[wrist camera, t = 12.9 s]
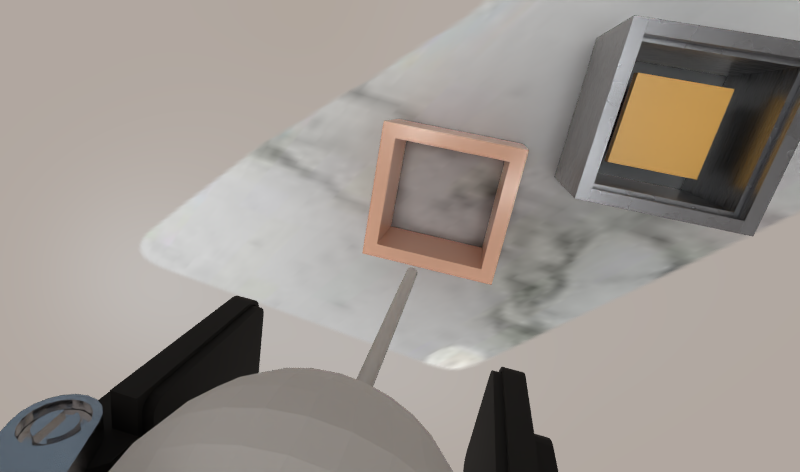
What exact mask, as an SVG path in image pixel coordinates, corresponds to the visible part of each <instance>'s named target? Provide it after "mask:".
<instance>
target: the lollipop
mask: <svg viewBox="0 0 800 472" xmlns="http://www.w3.org/2000/svg"><path fill="white" fill-rule="evenodd" d="M416 276H417V270H416V269H414V268H409V269H408V270H407V271H406V274H405V276H404V278H403V280H402V282H401V284H400V286H399V289H398V291H397V293H396V295H395V297H394V299H393V302H392V304H391V306H390V308H389V310H388V312H387V314H386V317H385V319H384V321H383V323H382V325H381V327H380V330H379V332H378V334H377V336H376V338H375V340H374V343H373V345H372V347H371V349H370V351H369V353H368V355H367V358H366V360H365V362H364V364H363V366H362V369H361V371H360V373H359V375H358V377H357V379H353V378H351V377H348V376H345V375H343V374H340V373H335V372H330V371H324V370H319V369H314V368H283V369H278V370H272V371H267V372H262V373H257V374H252V375H247V376H242V377H239V378H236V379H234V380H232V381H229V382H227V383H224V384H222V385H220V386H217V387H215V388H213V389H211V390H209V391H207V392H205V393H203V394H201V395H199V396H197V397H195V398H193V399H191V400H190V401H188V402H186V403H185V404H184V405H182V406H181V407H180V408H178V409H177V410H176V411H175V412H173V413H172V414H171V415H169V416H168V417H167V418H165V419H164V420H163V421H162V422H160V423H159V424H158V425H156V426H155V427H154V428H152V429H151V430H150V431H148V432H147V433H146V434H144V435H143V436H142V437H141V438H139V439H138V440H137V441H135V442H134V443H133V444H132V445H131V446H130V447H129V448H128V450H127V451H126V452H125V453H124V454H123V455H122V456H121V458H120V459H119V460H118V461H117V462H116V463H115V465H114V466H113V467H112V468H111V469H110V470H109V472H453V471H452V469H451V467H450V466H449V464H448V463H447V461H446V459H445V457H444V456H443V454H442V453H441V451H440V449H439V447H438V446H437V444H436V442H435V441H434V439H433V437H432V436H431V435H430V433H429V432H428V431H427V430H426V429H425V428H424V427H423V426H422V424H421V423H420V422H419V421H418V420H417V419H416V418H415V416H414V415H413V414H411V413H410V412H409V411H408V410H406V409H405V408H404V407H403V406H401V405H400V404H399V403H398V402H396V401H395V400H394V399H393V398H391V397H389V396H388V395H386V394H384V393H383V392H381V391H379V390H377V389H376V388H374V387H373V385H374V383H375V380H376V378H377V375H378V372H379V370H380V367H381V365H382V362H383V360H384V357H385V355H386V352H387V350H388V347H389V345H390V342H391V340H392V337H393V334H394V332H395V329H396V327H397V324H398V322H399V319H400V317H401V314H402V312H403V309H404V306H405V304H406V301H407V299H408V296H409V294H410V291H411V289H412V286H413V283H414V281H415V278H416Z"/></svg>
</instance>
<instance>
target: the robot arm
mask: <svg viewBox="0 0 800 472" xmlns="http://www.w3.org/2000/svg"><path fill="white" fill-rule="evenodd" d="M262 326H263V309H262V308H260V307H259V305H258V302H257V301H255V300H252V299H248V298H244V297H240V296H234V297H232V298H231V299H230V300H228V301H227V302H226V303H225V304H223V305H222V306H221V307H219V308H218V309H217V310H215V311H214V312H213V313H211V314H210V315H209V316H208V317H206V318H205V319H203V320H202V321H201V322H200V323H198V324H197V325H196V326H194V327H193V328H192V329H190V330H189V331H188V332H186V333H185V334H184V335H182V336H181V337H180V338H178V339H177V340H176V341H175V342H173V343H172V344H171V345H169V346H168V347H167V348H165V349H164V350H163V351H161V352H160V353H159V354H158V355H156V356H155V357H153V358H152V359H151V360H149V361H148V362H147V363H146V364H144V365H143V366H142V367H140V368H139V369H138V370H136V371H135V372H134V373H132V374H131V375H130V376H129V377H127V378H126V379H124V380H123V381H122V382H120V383H119V384H118V385H117V386H115V387H114V388H113V389H112V390H110V392H108V393H107V394H106V395H104V396H103V397H102V398H101V399H100V400H97V399H95V398H92V397H90V396H88V395H81V394H70V395H60V396H56V397H52V398H48V399H45V400H43V401H40V402H37V403H35V404H33V405H31V406H30V407H28V408H26V409H24V410H23V411H21V412H20V413H18V414H17V415H16V416H15V417H14V418H13V419H12V420H10V421H9V422H8V423H7V425H6V426H5V427H4V428H3V429H2V430H1V431H0V472H109V470H110V469H111V468H112V467H113V466H114V465H115V463H116V462H117V461H118V460H119V459H120V458H121V456H122V455H123V454H124V453H125V452H126V451H127V450H128V448H129V447H130V446H131V445H132V444H133V443H134V442H135V441H137V440H138V439H139V438H141V437H142V436H143V435H144V434H146V433H147V432H148V431H150V430H151V429H152V428H154V427H155V426H156V425H158V424H159V423H160V422H162V421H163V420H164V419H165V418H167V417H168V416H169V415H171V414H172V413H173V412H175V411H176V410H177V409H178V408H180V407H181V406H182V405H184V404H185V403H186V402H188V401H190V400H191V399H193V398H195V397H197V396H199V395H201V394H203V393H205V392H207V391H209V390H211V389H213V388H215V387H217V386H220V385H222V384H224V383H227V382H229V381H232V380H234V379H236V378H239V377H242V376H247V375H252V374H257V373H258V372H259V361H260V349H261V337H262ZM463 471H464V472H558V468H557V463H556V458H555V453H554V449H553V444H552V441H551V440H550V438H547V437H544V436H540V435H537V434H534V430H533V423H532V418H531V410H530V404H529V397H528V390H527V383H526V377H525V374H524V373H523V372H519V371H516V370H512V369H508V368H505V367H501V369H500V370H499V372H496V371H491V374H490V376H489V380H488V383H487V386H486V390H485V393H484V396H483V400H482V403H481V407H480V409H479V413H478V416H477V419H476V423H475V426H474V429H473V433H472V436H471V440H470V443H469V446H468V449H467V453H466V457H465V462H464V470H463Z"/></svg>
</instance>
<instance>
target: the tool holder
mask: <svg viewBox="0 0 800 472" xmlns="http://www.w3.org/2000/svg"><path fill="white" fill-rule="evenodd" d="M406 141H411V142H416V143H421V144H426V145H430V146H435V147H440V148H445V149H450V150H455V151H459V152H464V153H469V154H474V155H479V156H484V157H489V158H493V159H498V160H503V161H505V162H504V165H503V169H502V173H501V177H500V181H499V185H498V188H497V192H496V196H495V200H494V204H493V207H492V211H491V215H490V219H489V223H488V227H487V230H486V234H485V238H484V242H483V246H482V248H481V247H477V246H472V245H468V244H464V243H460V242H455V241H451V240H447V239H443V238H438V237H434V236H430V235H426V234H421V233H417V232H413V231H409V230H404V229H400V228H396V227H391V224H392V218H393V213H394V207H395V202H396V196H397V191H398V185H399V180H400V174H401V169H402V163H403V158H404V152H405V147H406ZM528 152H529V150H528V149H527V148H526V147H525V145H524V144H522V143H517V142H512V141H507V140H502V139H497V138H492V137H487V136H482V135H477V134H472V133H467V132H462V131H457V130H452V129H447V128H442V127H437V126H432V125H427V124H422V123H417V122H412V121H407V120H402V119H393V120H386V121H384V123H383V129H382V135H381V141H380V148H379V154H378V160H377V166H376V172H375V179H374V185H373V191H372V197H371V203H370V210H369V216H368V222H367V228H366V234H365V240H364V247H363V253H364V254H368V255H372V256H376V257H380V258H384V259H388V260H392V261H396V262H401V263H405V264H409V265H413V266H417V267H421V268H425V269H429V270H433V271H437V272H441V273H445V274H449V275H454V276H458V277H462V278H466V279H470V280H474V281H478V282H482V283H486V284H490V285H492V281H493V278H494V274H495V270H496V267H497V263H498V260H499V256H500V252H501V249H502V245H503V242H504V238H505V234H506V231H507V227H508V224H509V220H510V216H511V213H512V209H513V206H514V202H515V199H516V195H517V191H518V188H519V184H520V181H521V177H522V173H523V170H524V166H525V163H526V159H527V155H528Z"/></svg>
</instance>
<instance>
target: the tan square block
mask: <svg viewBox="0 0 800 472" xmlns="http://www.w3.org/2000/svg"><path fill="white" fill-rule="evenodd" d="M734 90H735V89H731V88H725V87H719V86H713V85H707V84H702V83H696V82H690V81H684V80H679V79H673V78H667V77H661V76H655V75H650V74H644V73H634V75H633V78H632V80H631V83H630V86H629V89H628V92H627V95H626V98H625V101H624V104H623V107H622V110H621V113H620V116H619V119H618V122H617V125H616V128H615V130H614V133H613V136H612V139H611V142H610V145H609V148H608V151H607V154H606V157H605V161H607V162H611V163H616V164H621V165H626V166H631V167H636V168H641V169H646V170H651V171H656V172H661V173H666V174H671V175H676V176H681V177H686V178H691V179H696V180H697V178H698V176H699V173H700V171H701V168H702V166H703V164H704V161H705V159H706V156H707V154H708V152H709V149H710V147H711V145H712V142H713V140H714V137H715V135H716V133H717V130H718V128H719V125H720V123H721V121H722V118H723V116H724V114H725V111H726V109H727V106H728V104H729V102H730V99H731V97H732V94H733V92H734Z"/></svg>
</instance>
